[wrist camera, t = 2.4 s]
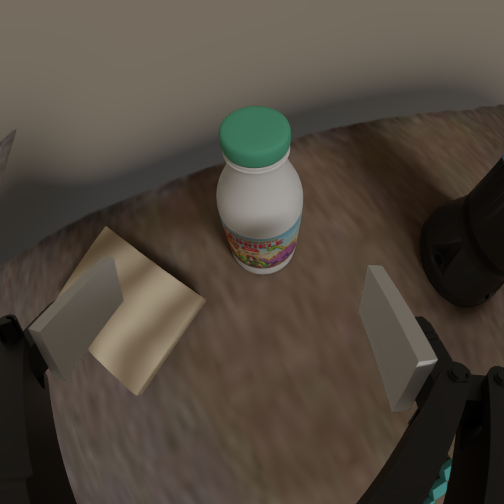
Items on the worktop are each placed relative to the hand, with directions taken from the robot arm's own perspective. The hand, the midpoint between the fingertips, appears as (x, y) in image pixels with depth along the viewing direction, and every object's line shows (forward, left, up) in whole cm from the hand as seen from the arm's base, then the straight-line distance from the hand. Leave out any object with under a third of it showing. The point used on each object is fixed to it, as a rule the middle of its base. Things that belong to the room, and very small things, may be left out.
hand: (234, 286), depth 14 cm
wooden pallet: (+14, +7, -19) cm, 25 cm away
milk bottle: (+5, -9, -19) cm, 22 cm away
